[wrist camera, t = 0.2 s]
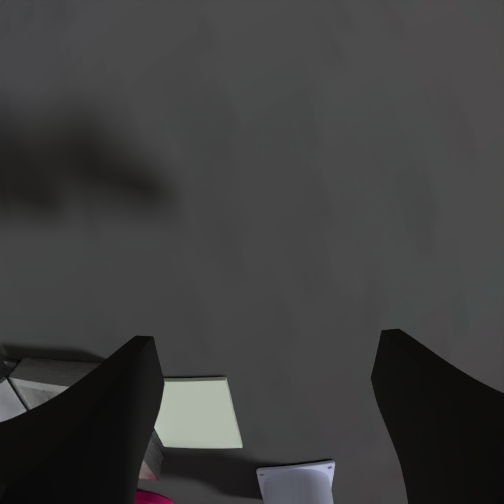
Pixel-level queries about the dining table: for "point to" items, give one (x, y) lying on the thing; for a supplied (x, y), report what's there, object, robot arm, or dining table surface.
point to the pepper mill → (151, 498)
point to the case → (56, 381)
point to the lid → (9, 402)
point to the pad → (197, 414)
